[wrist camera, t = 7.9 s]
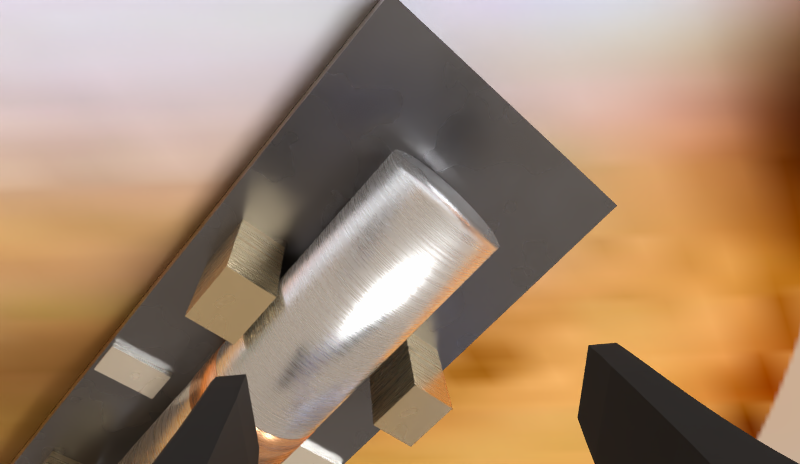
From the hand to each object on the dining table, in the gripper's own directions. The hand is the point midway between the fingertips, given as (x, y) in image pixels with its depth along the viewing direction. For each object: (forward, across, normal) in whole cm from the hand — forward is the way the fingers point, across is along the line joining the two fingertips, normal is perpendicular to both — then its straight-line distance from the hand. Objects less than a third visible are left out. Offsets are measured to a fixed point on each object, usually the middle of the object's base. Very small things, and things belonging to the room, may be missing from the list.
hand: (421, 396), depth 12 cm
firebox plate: (+8, +6, +7) cm, 13 cm away
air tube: (+7, +4, +5) cm, 10 cm away
